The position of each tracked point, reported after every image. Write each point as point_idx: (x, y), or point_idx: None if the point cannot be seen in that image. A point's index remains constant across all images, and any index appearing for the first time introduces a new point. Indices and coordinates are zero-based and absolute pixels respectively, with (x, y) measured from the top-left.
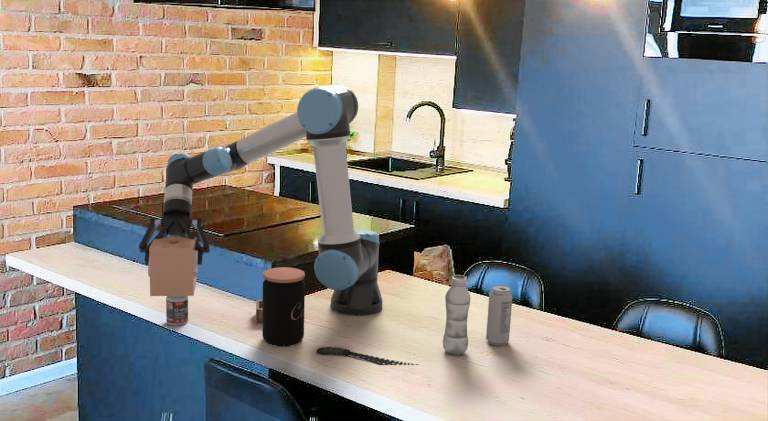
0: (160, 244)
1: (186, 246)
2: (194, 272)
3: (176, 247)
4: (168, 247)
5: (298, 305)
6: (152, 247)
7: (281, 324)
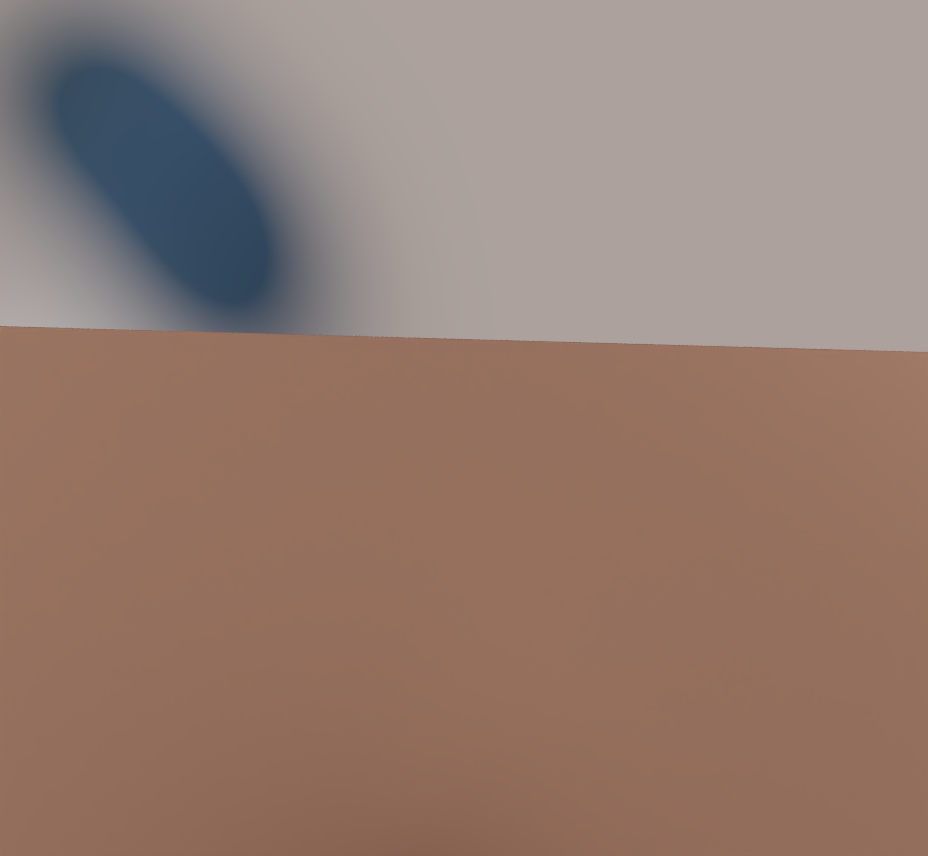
0: (861, 738)
1: None
2: None
3: (294, 387)
4: (513, 395)
5: None
6: (926, 398)
7: None
